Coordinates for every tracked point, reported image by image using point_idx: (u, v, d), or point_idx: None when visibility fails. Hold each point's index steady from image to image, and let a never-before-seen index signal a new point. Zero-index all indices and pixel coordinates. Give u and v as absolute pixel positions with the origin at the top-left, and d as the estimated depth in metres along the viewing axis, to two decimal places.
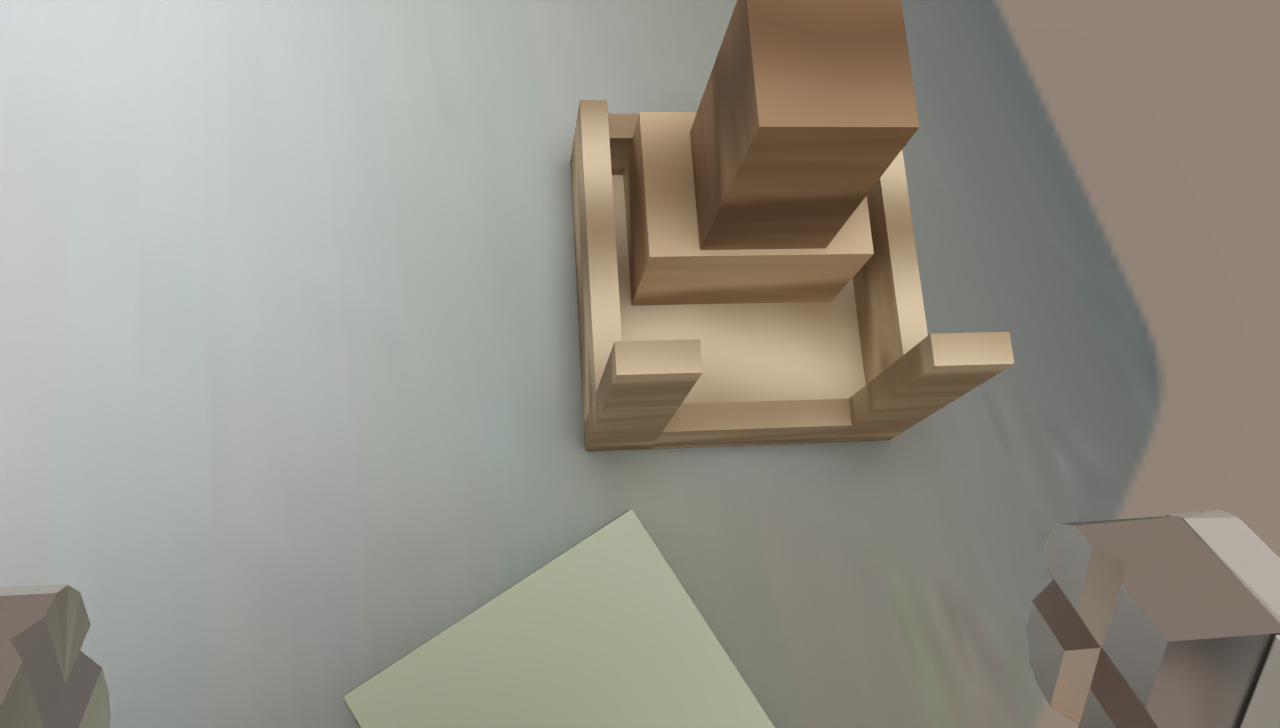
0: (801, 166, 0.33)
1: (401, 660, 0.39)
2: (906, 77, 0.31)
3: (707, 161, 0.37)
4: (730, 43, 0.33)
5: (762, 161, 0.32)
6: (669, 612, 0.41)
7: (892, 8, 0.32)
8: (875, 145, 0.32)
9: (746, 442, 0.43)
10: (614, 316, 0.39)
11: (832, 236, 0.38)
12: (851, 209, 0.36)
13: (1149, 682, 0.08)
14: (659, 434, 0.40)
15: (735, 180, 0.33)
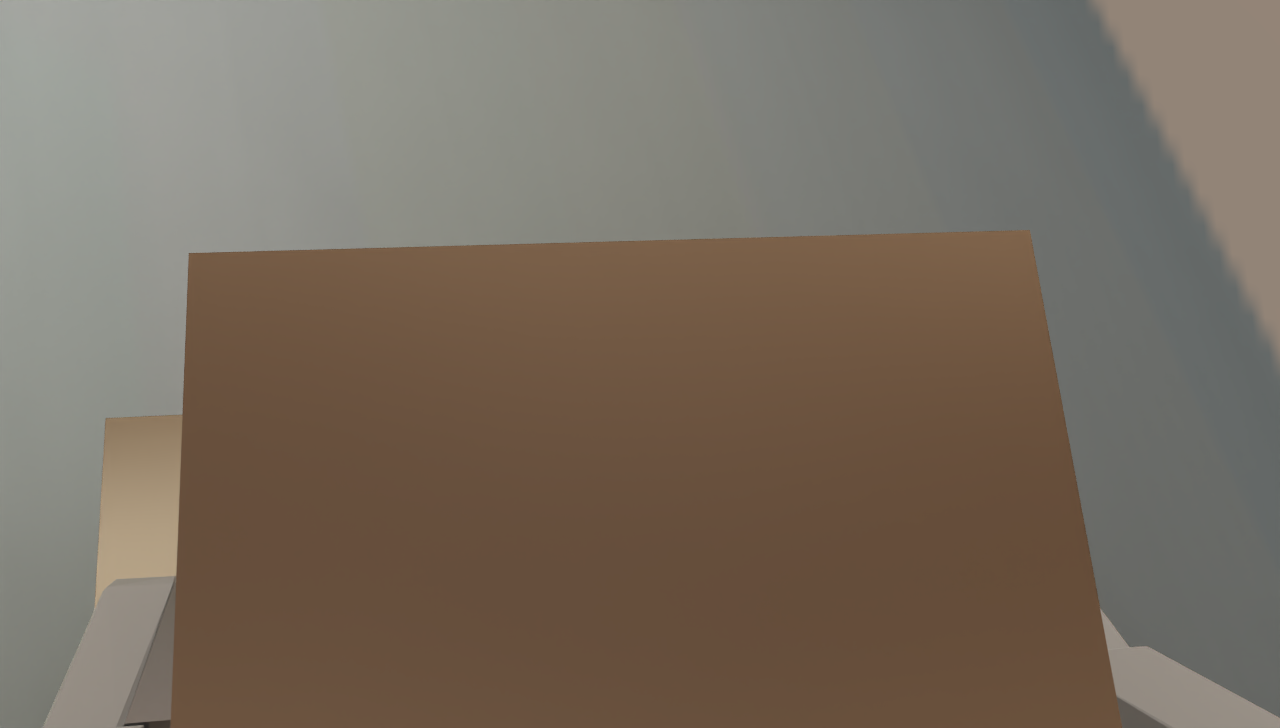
0: None
1: None
2: None
3: None
4: None
5: None
6: None
7: (1004, 369, 0.06)
8: None
9: None
10: None
11: None
12: None
13: None
14: None
15: None
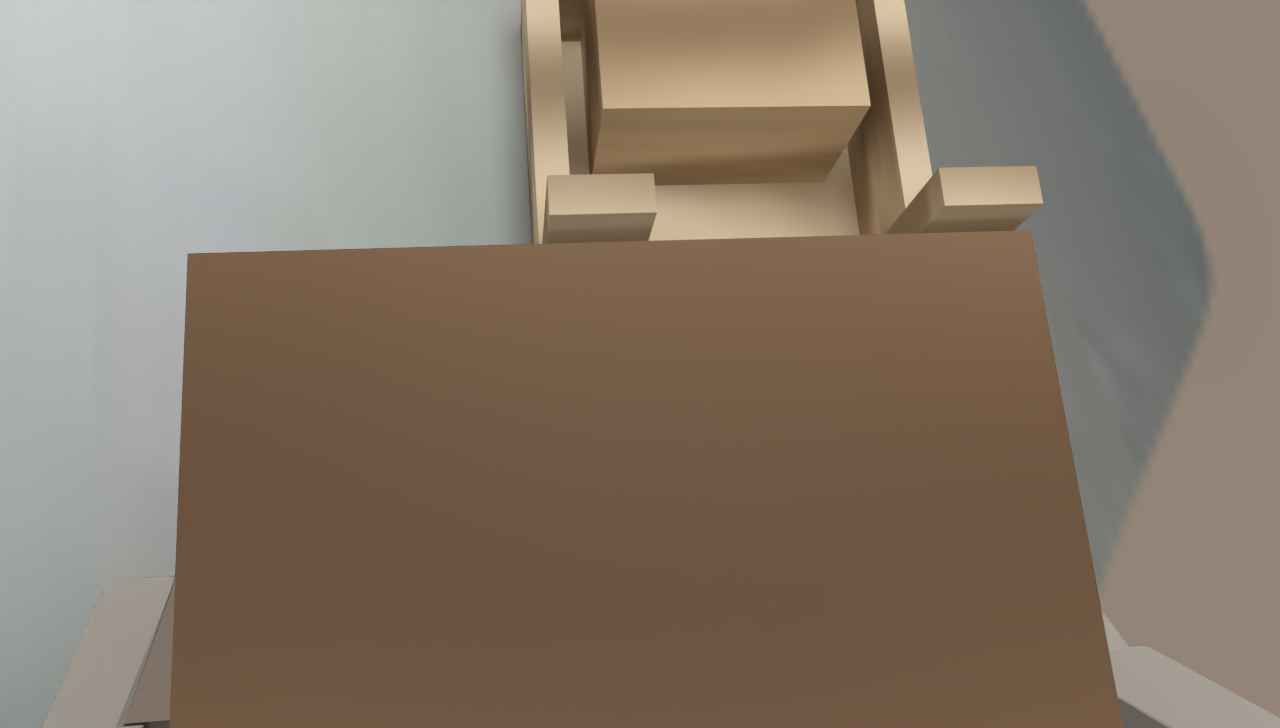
0: None
1: None
2: None
3: None
4: None
5: None
6: None
7: (1005, 370, 0.06)
8: None
9: None
10: None
11: None
12: None
13: None
14: None
15: None
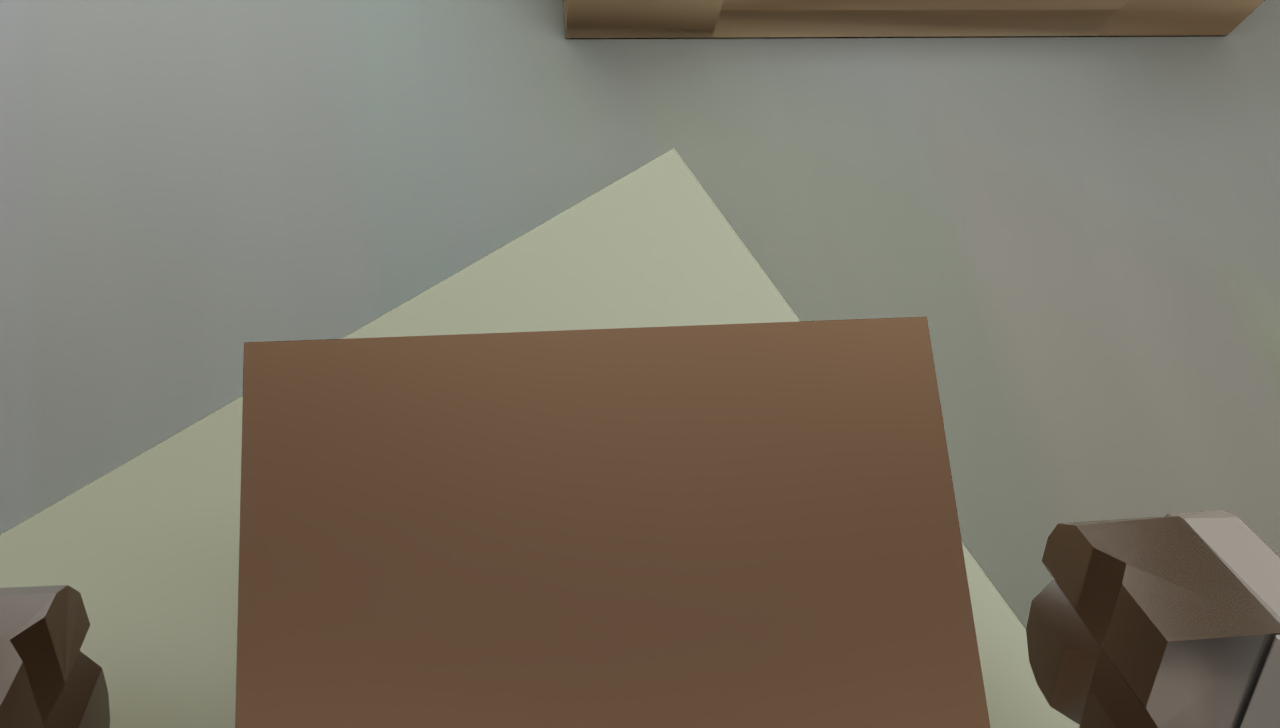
0: None
1: (101, 481, 0.15)
2: None
3: None
4: None
5: None
6: None
7: (902, 433, 0.07)
8: None
9: (926, 19, 0.19)
10: None
11: None
12: None
13: (1148, 682, 0.08)
14: None
15: None
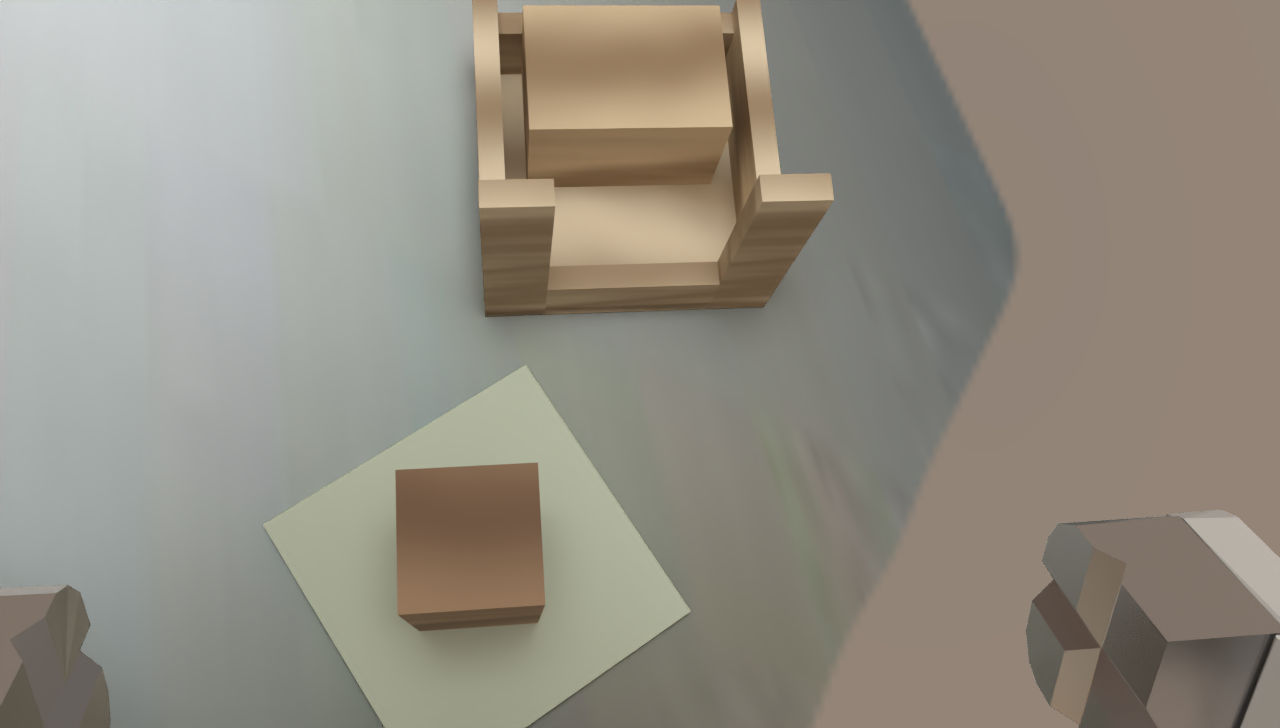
0: (461, 616, 0.37)
1: (315, 494, 0.44)
2: (537, 556, 0.35)
3: None
4: None
5: (421, 618, 0.36)
6: (558, 453, 0.45)
7: (530, 487, 0.36)
8: (516, 609, 0.36)
9: (630, 307, 0.47)
10: None
11: (536, 621, 0.42)
12: (536, 617, 0.40)
13: (1149, 683, 0.08)
14: (545, 293, 0.45)
15: (408, 622, 0.37)
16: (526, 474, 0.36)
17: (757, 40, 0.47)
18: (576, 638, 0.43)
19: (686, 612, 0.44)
